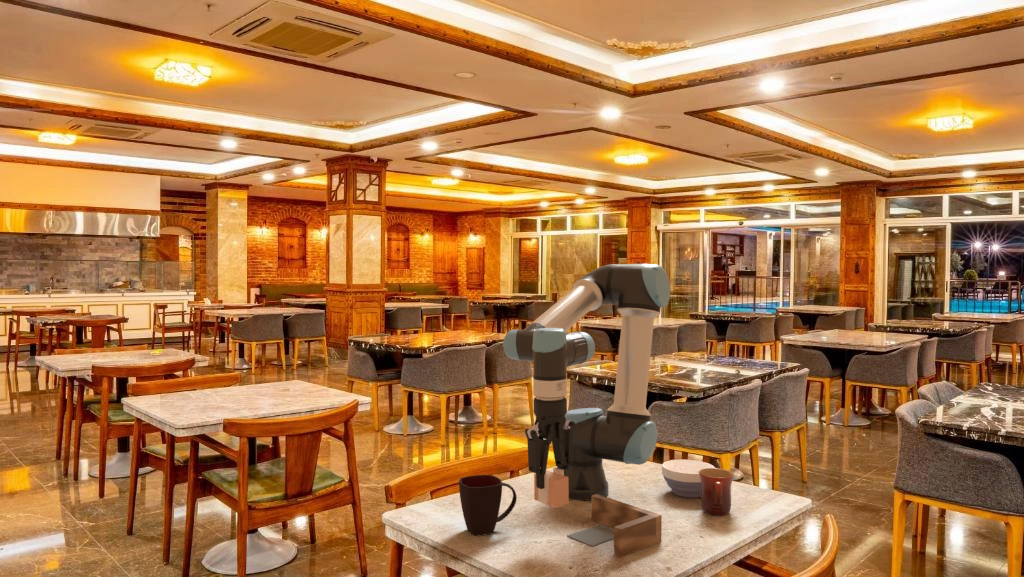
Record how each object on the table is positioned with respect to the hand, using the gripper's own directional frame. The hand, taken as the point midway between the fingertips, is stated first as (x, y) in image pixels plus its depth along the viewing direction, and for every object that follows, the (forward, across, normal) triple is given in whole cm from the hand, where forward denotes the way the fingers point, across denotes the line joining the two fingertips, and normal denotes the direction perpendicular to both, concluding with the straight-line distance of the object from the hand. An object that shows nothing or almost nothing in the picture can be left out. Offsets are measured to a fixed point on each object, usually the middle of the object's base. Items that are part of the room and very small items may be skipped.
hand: (551, 499), depth 161 cm
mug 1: (+10, -6, +16) cm, 20 cm away
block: (+1, 0, 0) cm, 1 cm away
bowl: (+12, +54, +2) cm, 56 cm away
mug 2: (+11, +45, -13) cm, 48 cm away
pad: (+10, +11, -3) cm, 16 cm away
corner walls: (+10, +13, -5) cm, 18 cm away
